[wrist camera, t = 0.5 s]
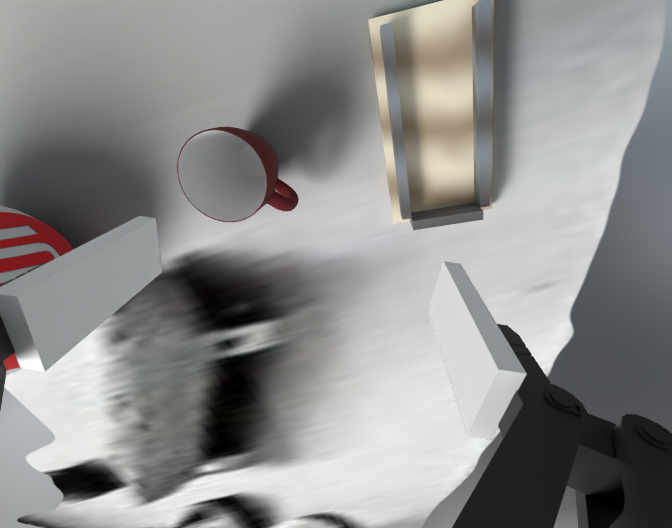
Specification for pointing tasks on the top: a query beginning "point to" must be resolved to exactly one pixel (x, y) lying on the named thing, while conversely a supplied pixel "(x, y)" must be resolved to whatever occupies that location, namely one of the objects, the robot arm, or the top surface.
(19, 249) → the decorative sphere
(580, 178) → the top surface
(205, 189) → the mug
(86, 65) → the top surface
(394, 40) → the rail mount
